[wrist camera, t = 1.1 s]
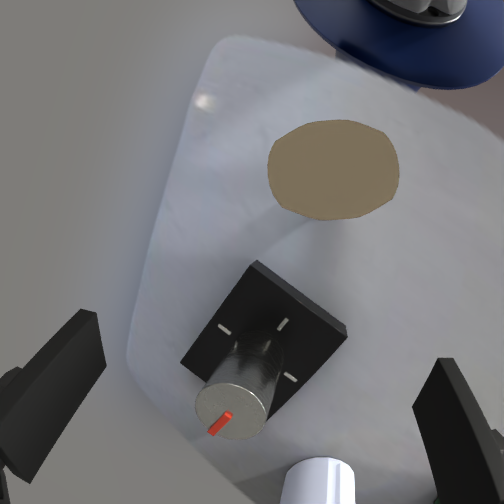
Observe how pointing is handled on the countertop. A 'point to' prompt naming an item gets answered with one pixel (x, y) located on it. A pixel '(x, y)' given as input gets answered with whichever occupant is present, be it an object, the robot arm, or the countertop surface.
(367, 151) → the handle
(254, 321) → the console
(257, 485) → the countertop surface
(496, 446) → the robot arm
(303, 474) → the soap bottle
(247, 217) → the countertop surface
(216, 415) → the dial
